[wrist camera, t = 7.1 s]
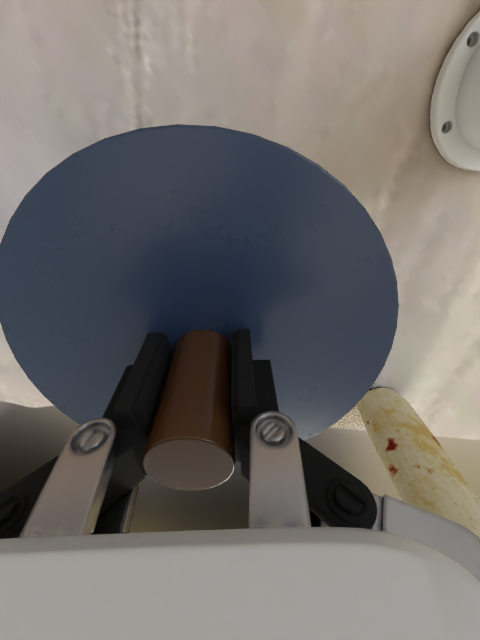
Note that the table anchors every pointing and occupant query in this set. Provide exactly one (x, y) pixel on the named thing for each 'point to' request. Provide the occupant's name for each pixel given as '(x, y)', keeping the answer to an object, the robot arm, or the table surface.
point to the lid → (196, 286)
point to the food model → (417, 459)
